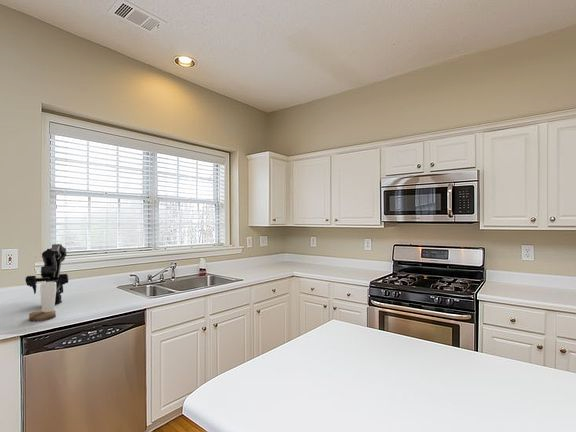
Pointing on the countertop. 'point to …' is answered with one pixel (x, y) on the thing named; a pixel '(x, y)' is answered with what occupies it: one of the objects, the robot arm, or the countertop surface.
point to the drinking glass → (48, 296)
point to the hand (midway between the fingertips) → (45, 292)
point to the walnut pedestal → (41, 316)
